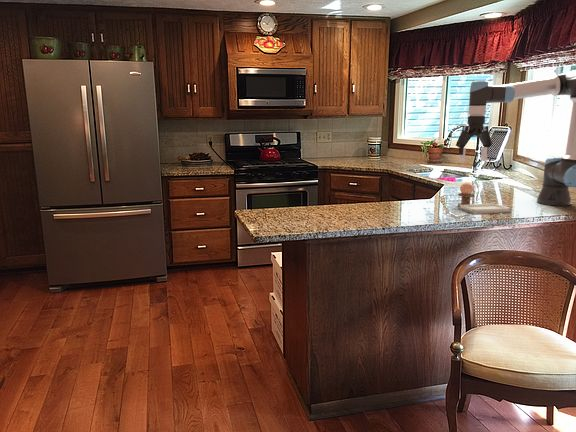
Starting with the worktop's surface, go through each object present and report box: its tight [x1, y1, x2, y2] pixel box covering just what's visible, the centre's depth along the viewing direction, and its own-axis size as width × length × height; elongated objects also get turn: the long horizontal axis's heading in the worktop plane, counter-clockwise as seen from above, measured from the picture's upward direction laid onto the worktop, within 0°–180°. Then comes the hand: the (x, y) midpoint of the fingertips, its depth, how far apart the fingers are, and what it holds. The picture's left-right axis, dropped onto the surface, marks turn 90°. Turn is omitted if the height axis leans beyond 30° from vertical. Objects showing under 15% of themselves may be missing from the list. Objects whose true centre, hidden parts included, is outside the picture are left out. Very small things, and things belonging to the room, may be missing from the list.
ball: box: [459, 182, 474, 194], centre depth 238 cm, size 6×6×6 cm
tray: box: [458, 203, 512, 215], centre depth 229 cm, size 19×12×2 cm, turn 101°
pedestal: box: [457, 192, 475, 207], centre depth 239 cm, size 7×7×6 cm
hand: (472, 161), depth 231 cm, fingers open, 13 cm apart
